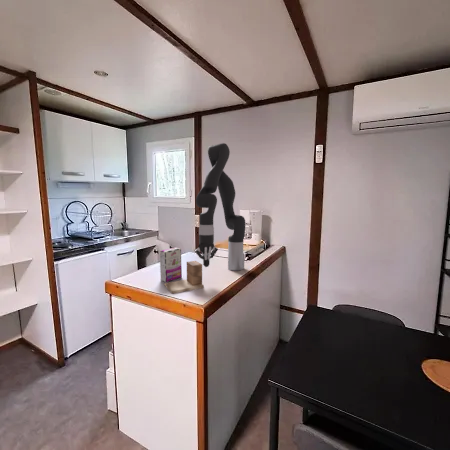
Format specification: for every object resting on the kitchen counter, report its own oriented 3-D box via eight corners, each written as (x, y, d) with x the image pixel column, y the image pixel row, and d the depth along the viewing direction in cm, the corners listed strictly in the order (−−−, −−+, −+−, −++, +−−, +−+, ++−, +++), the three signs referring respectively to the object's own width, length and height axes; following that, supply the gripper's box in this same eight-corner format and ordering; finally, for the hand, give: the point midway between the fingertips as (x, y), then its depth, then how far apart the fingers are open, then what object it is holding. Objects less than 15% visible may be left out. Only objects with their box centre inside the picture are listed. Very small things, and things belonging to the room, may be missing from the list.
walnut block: (195, 279, 134) (195, 260, 133) (202, 283, 127) (202, 264, 126) (186, 280, 132) (186, 261, 131) (192, 285, 125) (192, 265, 124)
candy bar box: (175, 275, 144) (175, 247, 142) (182, 277, 141) (181, 248, 139) (159, 280, 135) (159, 250, 133) (166, 282, 132) (165, 251, 130)
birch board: (194, 280, 136) (194, 278, 136) (203, 287, 126) (203, 285, 126) (164, 285, 128) (164, 283, 128) (172, 293, 118) (172, 291, 118)
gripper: (214, 231, 136) (214, 263, 138) (191, 233, 130) (191, 266, 132) (221, 233, 130) (221, 266, 132) (197, 235, 123) (197, 270, 125)
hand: (206, 266), depth 132 cm, fingers closed
